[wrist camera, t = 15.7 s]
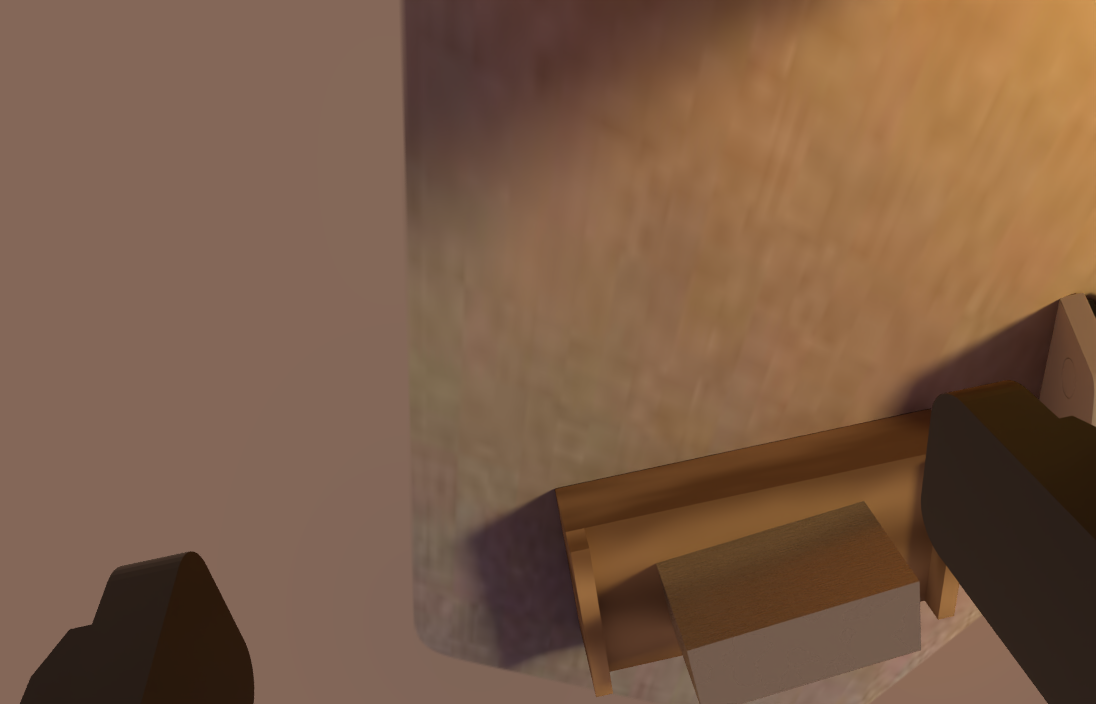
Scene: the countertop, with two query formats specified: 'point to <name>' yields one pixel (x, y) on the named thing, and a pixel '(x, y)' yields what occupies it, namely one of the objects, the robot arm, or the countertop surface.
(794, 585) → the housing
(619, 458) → the countertop surface
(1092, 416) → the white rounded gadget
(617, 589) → the stand
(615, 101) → the countertop surface
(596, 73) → the countertop surface
